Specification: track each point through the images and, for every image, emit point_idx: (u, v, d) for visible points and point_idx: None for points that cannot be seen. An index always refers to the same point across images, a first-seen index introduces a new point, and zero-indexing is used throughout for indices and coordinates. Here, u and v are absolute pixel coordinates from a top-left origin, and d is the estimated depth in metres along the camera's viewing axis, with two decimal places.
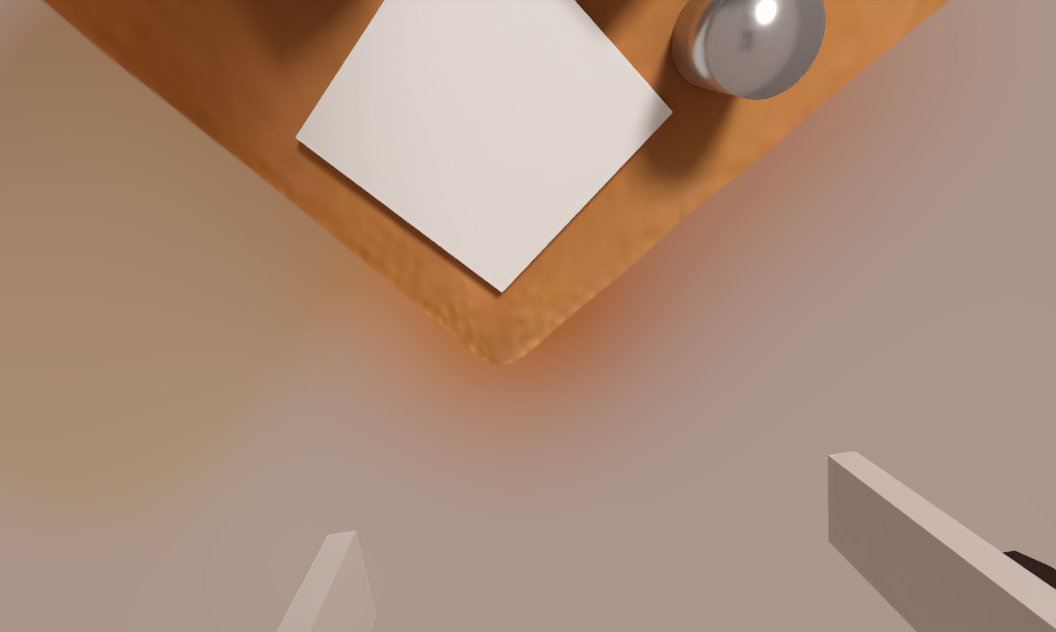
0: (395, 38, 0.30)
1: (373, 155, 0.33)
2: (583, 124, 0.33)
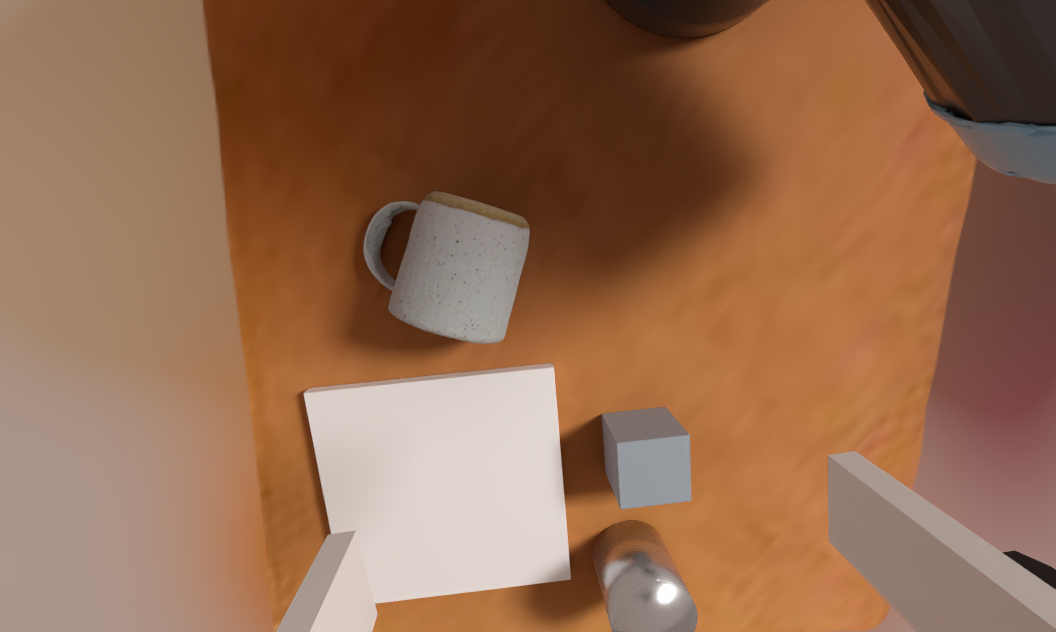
0: (434, 400, 0.36)
1: (347, 446, 0.36)
2: (509, 541, 0.38)
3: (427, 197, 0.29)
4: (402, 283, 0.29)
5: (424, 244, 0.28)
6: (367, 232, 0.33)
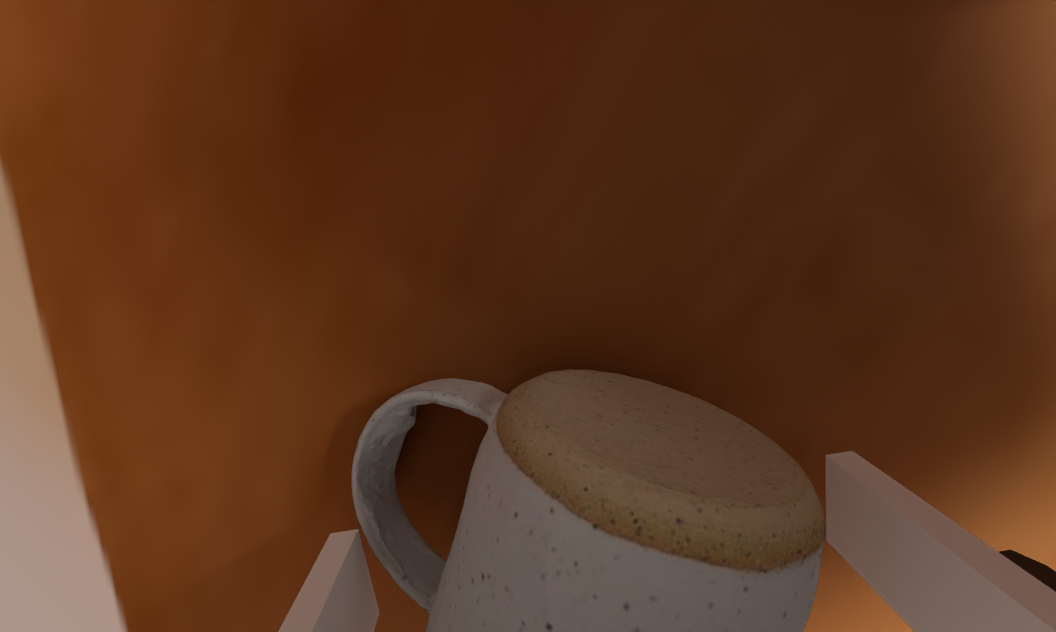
0: None
1: None
2: None
3: (512, 445, 0.09)
4: None
5: (511, 628, 0.08)
6: (358, 453, 0.13)
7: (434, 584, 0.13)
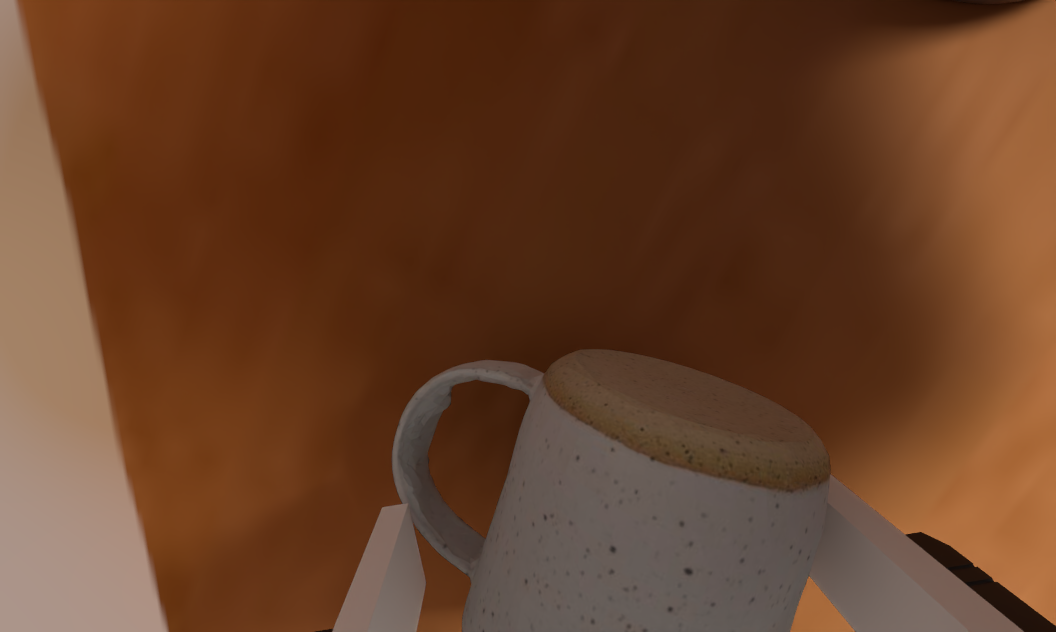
0: None
1: None
2: None
3: (568, 402, 0.10)
4: None
5: (575, 557, 0.10)
6: (400, 431, 0.14)
7: (472, 552, 0.14)
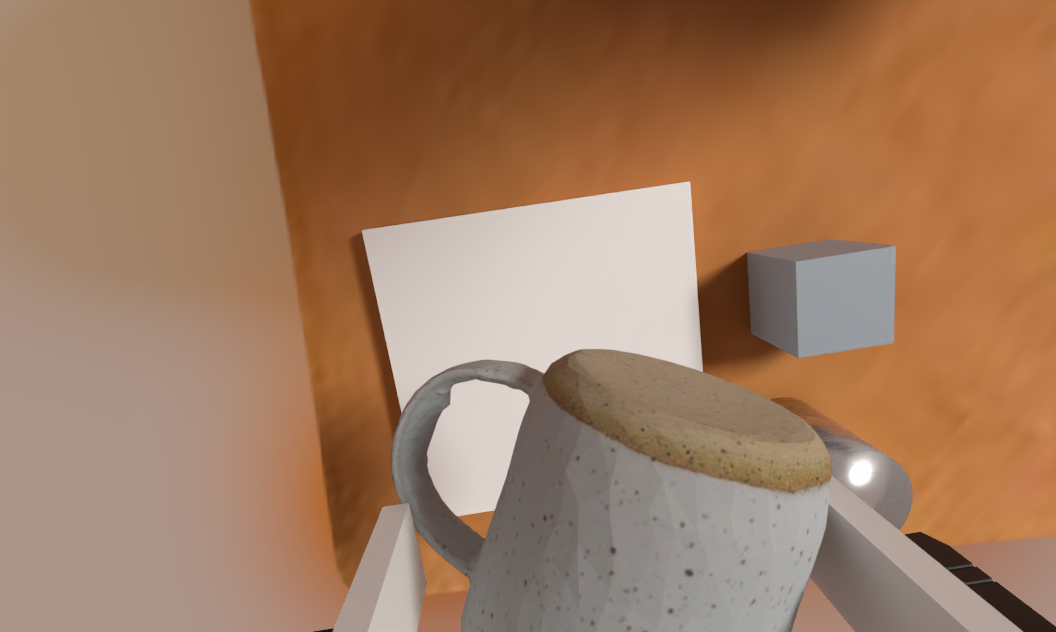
0: (533, 234, 0.27)
1: (421, 303, 0.27)
2: None
3: (568, 402, 0.10)
4: None
5: (575, 558, 0.10)
6: (399, 431, 0.14)
7: (471, 552, 0.14)
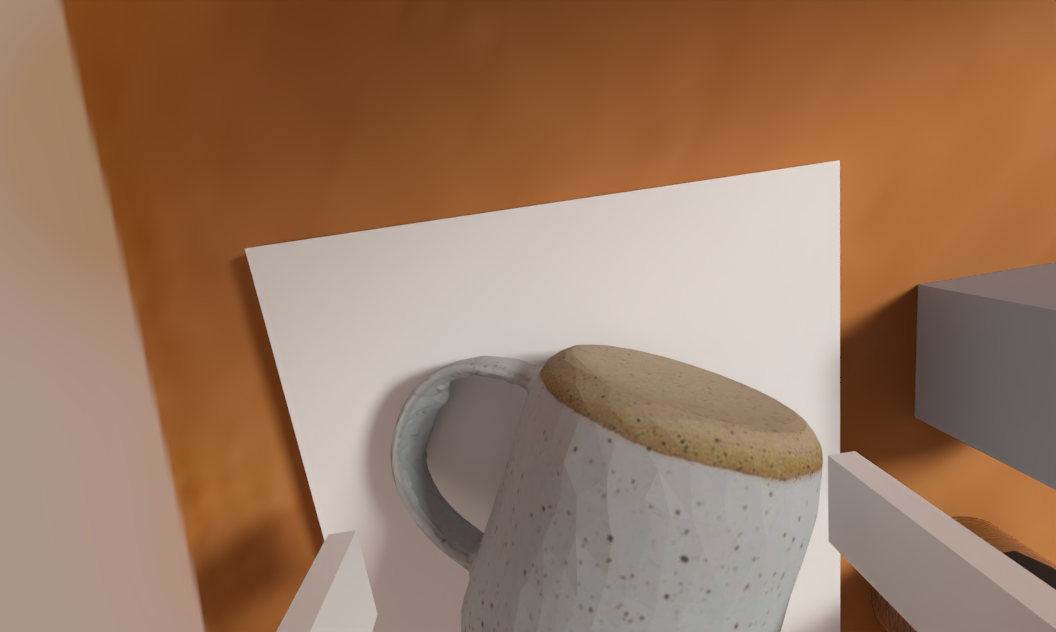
0: (556, 256, 0.15)
1: (357, 376, 0.15)
2: None
3: (565, 394, 0.11)
4: (506, 628, 0.11)
5: (573, 546, 0.10)
6: (398, 427, 0.14)
7: (470, 546, 0.14)
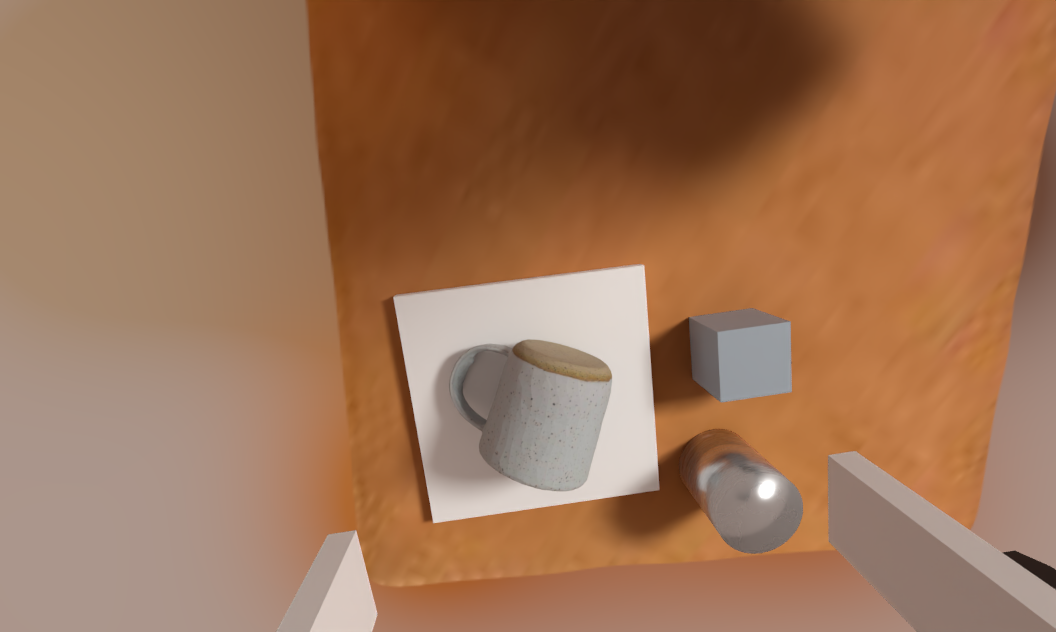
0: (524, 302, 0.35)
1: (436, 352, 0.35)
2: (597, 451, 0.38)
3: (520, 355, 0.31)
4: (497, 436, 0.31)
5: (520, 403, 0.30)
6: (453, 372, 0.34)
7: (482, 423, 0.34)
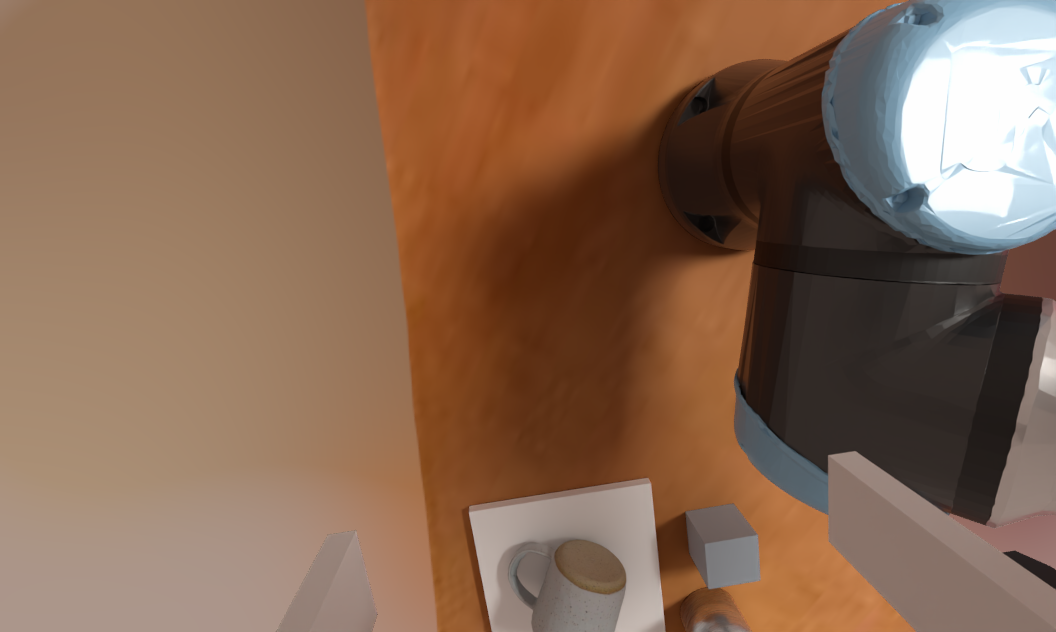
0: (563, 511, 0.48)
1: (500, 547, 0.48)
2: None
3: (561, 570, 0.44)
4: (546, 626, 0.44)
5: (562, 608, 0.43)
6: (510, 565, 0.47)
7: (532, 602, 0.47)
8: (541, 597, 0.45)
